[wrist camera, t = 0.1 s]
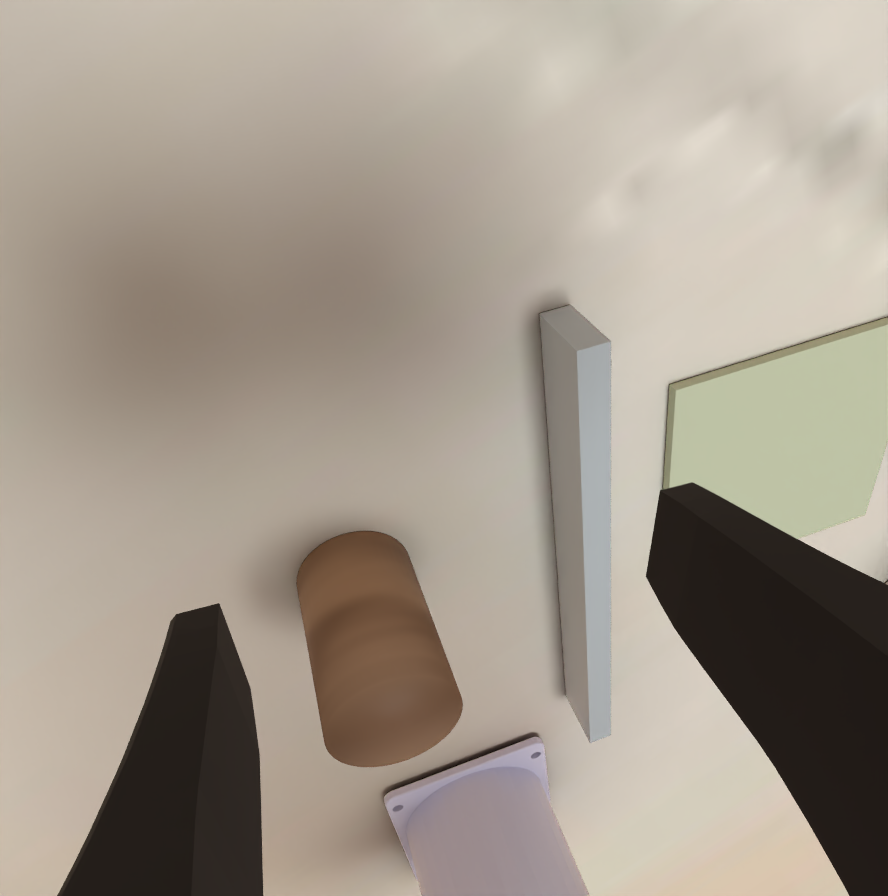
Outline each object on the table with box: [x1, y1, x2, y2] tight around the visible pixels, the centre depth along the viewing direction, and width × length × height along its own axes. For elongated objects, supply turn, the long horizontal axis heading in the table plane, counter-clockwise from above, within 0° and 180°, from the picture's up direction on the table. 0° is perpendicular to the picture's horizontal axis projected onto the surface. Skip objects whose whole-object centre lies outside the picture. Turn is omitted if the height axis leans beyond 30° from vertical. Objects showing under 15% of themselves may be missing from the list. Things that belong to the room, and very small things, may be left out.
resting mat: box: [663, 317, 888, 539], centre depth 27 cm, size 10×10×1 cm
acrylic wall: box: [540, 305, 611, 743], centre depth 26 cm, size 20×1×2 cm, turn 8°
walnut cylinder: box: [297, 531, 463, 767], centre depth 22 cm, size 4×4×6 cm
